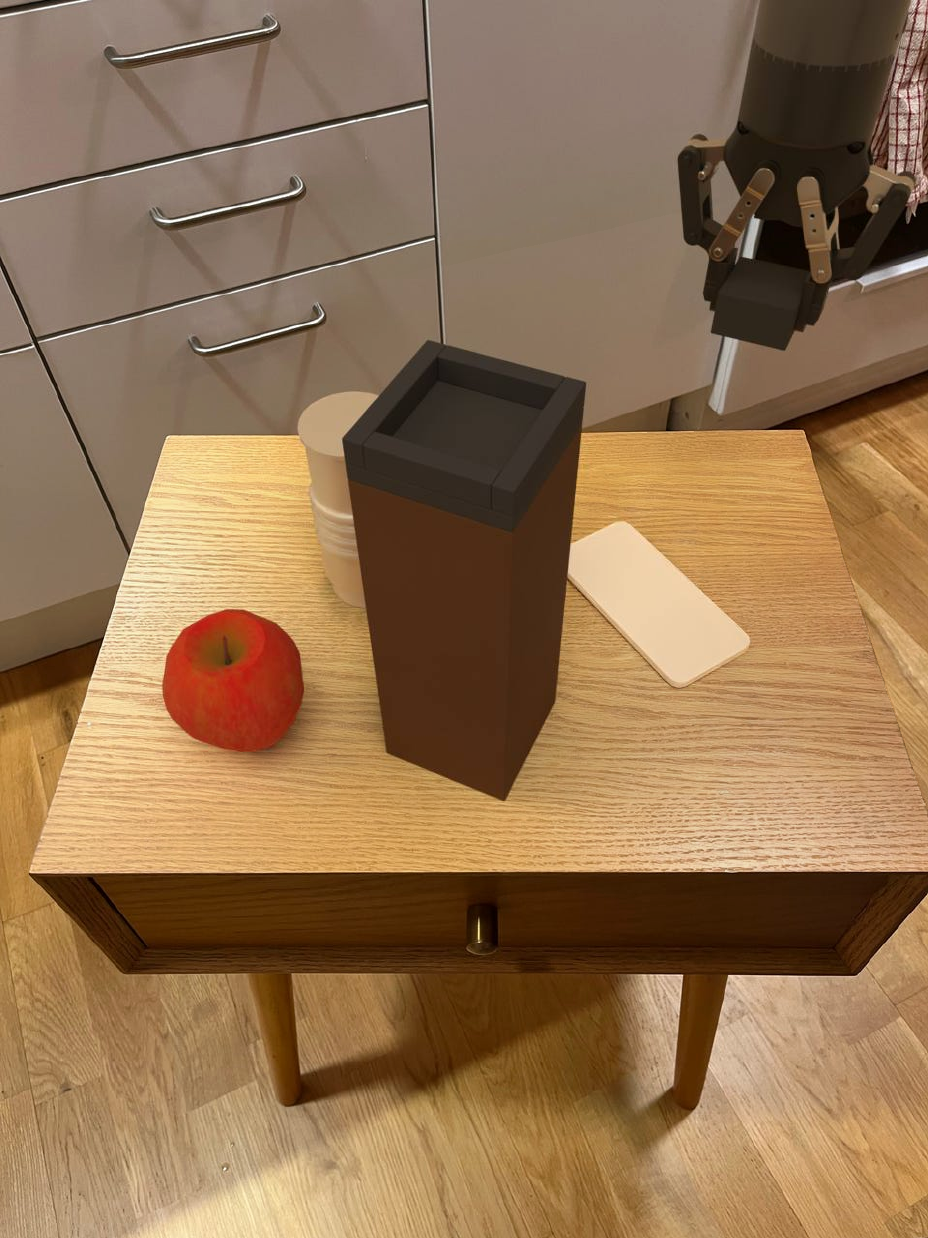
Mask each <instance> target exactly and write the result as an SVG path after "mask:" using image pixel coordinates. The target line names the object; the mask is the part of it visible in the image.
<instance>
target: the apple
mask: <svg viewBox="0 0 928 1238" xmlns="http://www.w3.org/2000/svg"><path fill="white" fill-rule="evenodd" d="M163 671H164V673H163V677H162V684H161V691H162V698H163V702H164V706H165V710H166V711H167V713H168V715H169V716H170V718H171V720H172V721H173V722H174V723H176V725H177V726H178V727H179V728H180V729H181V730H182V731H184V732H185V733H186V734H188V735H189V736H190V737H191V738H192V739H195V740H197V741H199V742H201V743H203V744H207V745H210V746H213V747H215V748H218V749H223V750H227V751H231V752H232V751H233V752H239V753H240V752H241V753H247V752H255V751H259V750H260V751H261V750H264V749H266V748H269V747H271V746H273V745H274V744H275V743H277V742H278V741H279V740H280V739H281V738H283V737H284V736H285V734H287V732H288V731H289V729H290V727H291V726H292V725H293V723H294V721H295V719H296V717H297V715H298V713H299V711H300V708H301V706H302V702H303V698H304V694H305V686H304V677H303V667H302V660H301V652H300V651H299V648H298V646H297V645H296V643H295V641H294V640H293V638H292V637H291V636H290V634H289V633H288V632H287V631H285V629H283V628H282V626H280V624H278V623H277V622H274V621H272V620H270V619H268V618H265V617H263V616H261V615H259V614H256V613H253V612H250V611H248V610H246V609H241V608H239V609H238V608H226V609H223V610H220V611H216V612H212V613H209V614H207V615H206V616H204V617H202V618H200V619H199V620H197V621H195V622H193V623H192V624H190V625H188V626H186V627H184V628H183V629H182V630H181V631H180V633H179V634H178V636H177V638H176V639H175V640H174V641H173V643H172V645H171V647H170V648H169V651H168V652H167V654H166V657H165V664H164V670H163Z"/></svg>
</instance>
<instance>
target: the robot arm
mask: <svg viewBox="0 0 928 1238" xmlns="http://www.w3.org/2000/svg"><path fill="white" fill-rule="evenodd" d="M911 4H912V0H759V2H758V7H757V13H756V19H755V23H754V29H753V34H752V38H751V39H752V40H751V45H750V50H749V56H748V62H747V65H746V66H747V67H746V72H745V78H744V83H743V89H742V93H741V99H740V106H739V110H738V115H737V121H736V125H735V127H734V129H733V131H732V132H731V134H730V136H729V137H728V138H726V139H725V138H724V139H711V140H709V139H708V137H707V136H706V135H704V134H702V133H697V134H695V135H694V134H693V136H692V137H691V138H690V139H689V140H688V142H687V143H686V144H685V146H684V147H683V148H682V150H681V151H680V152H679V153H678V155H677V161H676V162H677V173H678V184H679V186H678V187H679V195H680V196H679V199H680V210H681V223H682V224H681V225H682V235H683V241H684V242H685V244H687V245H689V246H691V247H695V246H699V248H701V249H703V250H704V251H705V252H706V253H707V255H708V261H707V262H708V263H707V267H706V268H707V269H706V274H705V280H704V285H703V290H702V295H703V300H704V302H709V308H708V309H709V311H710V312H715V307H716V302H717V297H718V293H719V291H720V289H721V288H722V286H723V284H724V283H725V281H726V280H727V278H728V276H729V275H730V273H731V271H732V270H733V268H734V266H735V264H736V262H737V257H738V251H739V248H738V247H735V246H736V242H737V241H738V239H739V238H740V236H741V235H742V233H743V232H744V230H745V228H747V225H748V224H749V223H750V221H751V219H752V218H753V219H755V220H756V219H757V220H760V221H761V220H762V221H765V222H766V221H781V222H783V223H785V224H787V225H789V226H792V227H796V228H802V230H803V237H804V238H803V239H804V246H805V249H806V250H807V251H808V259H809V266H810V268H809V269H810V270H809V271H810V273H809V275H808V277H807V279H806V281H805V284H804V288H803V292H802V295H801V303H800V307H799V310H798V314H797V318H796V321H795V325H794V329H793V330H794V332H799V333H804V332H805V330H806V328H807V325H808V326H812V327H814V326H815V325H816V323H817V322H818V321H819V320H820V317H821V315H822V313H823V311H824V308H825V305H826V302H827V298H828V295H829V291H830V288H831V285H832V282H833V281H834V280H836V279H841V278H842V279H843V278H846V279H847V280H849V281H858V280H860V279H861V278H862V277H863V276H864V274H865V273H866V271H867V269H868V268H869V266H870V264H871V263H872V262H873V260H874V258H875V256H876V255H877V253H878V251H879V250H880V248H881V247H882V245H883V243H884V242H885V241H886V239H887V237H888V236H889V234H890V232H891V230H892V229H893V227H894V226H895V225H896V222H897V221H898V219H899V218H900V216H901V214H902V213H903V211H904V209H905V208H906V206H907V204H908V202H909V200H910V198H911V196H912V193H913V191H914V188H915V186H916V182H917V179H916V175H915V174H914V173H913V172H911V171H908V170H903V171H900V172H898V173H893V172H891V171H889V170H887V169H884V168H883V167H880V166H877V165H875V164H874V155H873V152H872V137H873V135H874V134H873V133H874V131H875V127H876V123H877V120H878V116H879V113H880V111H881V106H882V103H883V100H884V96H885V92H886V89H887V86H888V85H887V84H888V82H889V79H890V76H891V72H892V68H893V65H894V61H895V58H896V55H897V51H898V47H899V44H900V42H901V41H900V40H901V38H902V36H903V34H904V33H905V30H906V29H907V28H906V27H907V25H908V20H909V9H910V7H911ZM721 162H724V164H725V167H726V169H727V171H728V173H729V176H730V178H731V180H732V182H733V184H734V186H735V188H736V190H737V192H738V195H739V197H740V198H739V199H738V201H737V203H736V204H735V206H734V207H733V209H732V211H731V212H730V214H729V216H728V218H726V221H725V222H724V224H721V223H719V222H718V221H716V220H714V209H713V193H712V192H713V191H712V179H713V177H714V176H715V175H716V173H717V172H718V170H719V169H720V168H719V167H720V163H721ZM862 187H863V188H865V189H866V191H867V194H868V195H867V200H866V203H865V207H866V209H867V211H869V213H871V214H872V215H871V217H870V218H869V220H868V222H867V224H866V226H865V228H864V229H863V231H862V232H861V234H860V235H859V238H858V239H857V240H856V242H855V244H854V246H853V247H846V248H845V247H844V248H840V239H839V222H840V220H839V217H840V215H839V206H840V205H841V204H842V203H844V202H845V201H846V200H847V199H848V198H850V197H851V196H852V195H853V194H854V193H856V192H857V191H858V190H859V189H860V188H862Z"/></svg>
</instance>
